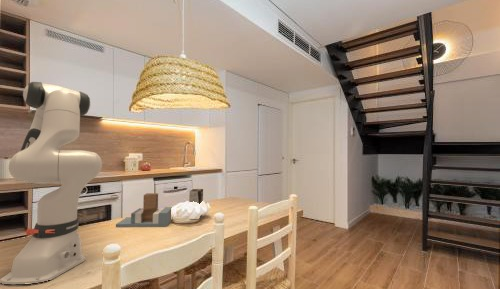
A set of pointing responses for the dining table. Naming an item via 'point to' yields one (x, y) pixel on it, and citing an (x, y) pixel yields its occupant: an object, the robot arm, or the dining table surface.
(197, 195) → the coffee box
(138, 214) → the vise jaw
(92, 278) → the dining table surface
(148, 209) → the walnut block
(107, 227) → the dining table surface
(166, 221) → the vise base
